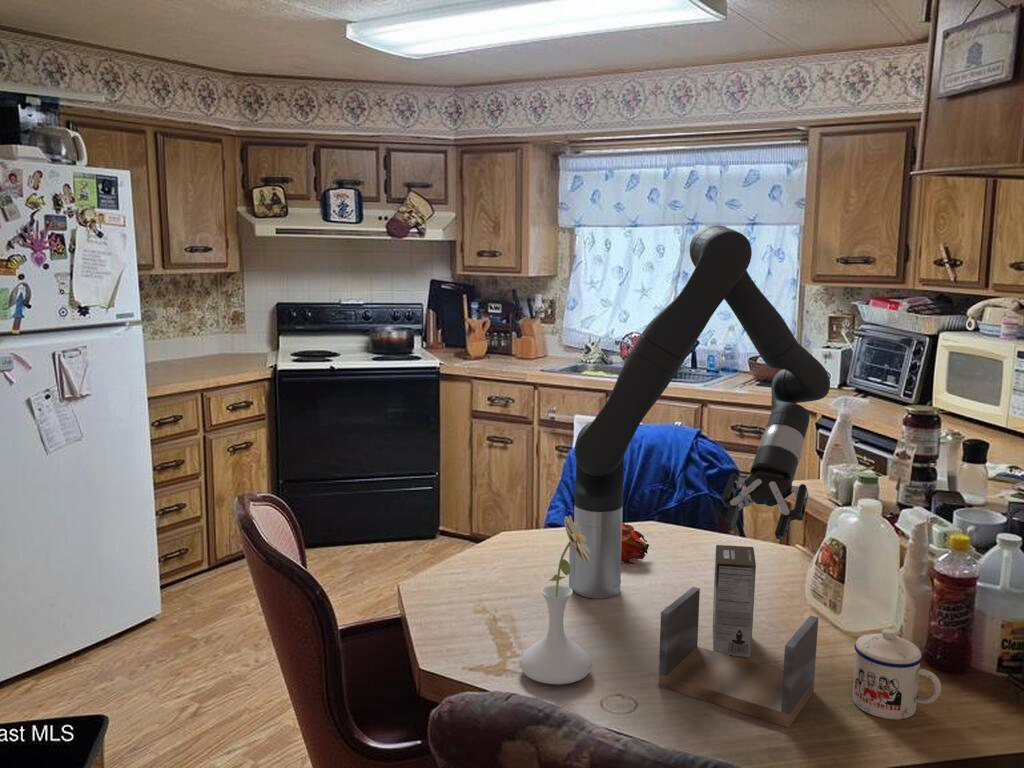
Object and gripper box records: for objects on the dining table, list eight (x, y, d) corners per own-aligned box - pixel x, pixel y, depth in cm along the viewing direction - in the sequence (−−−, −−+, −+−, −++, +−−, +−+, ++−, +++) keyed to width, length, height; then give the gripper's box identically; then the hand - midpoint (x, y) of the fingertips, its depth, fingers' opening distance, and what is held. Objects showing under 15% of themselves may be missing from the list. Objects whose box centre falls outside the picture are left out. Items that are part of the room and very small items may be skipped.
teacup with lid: (840, 705, 128) (846, 631, 126) (864, 683, 134) (869, 612, 132) (926, 737, 120) (933, 658, 118) (947, 711, 126) (954, 636, 124)
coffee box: (711, 630, 152) (715, 543, 150) (749, 634, 151) (753, 545, 148) (712, 654, 143) (716, 562, 141) (752, 658, 142) (757, 565, 139)
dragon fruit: (605, 556, 192) (644, 581, 183) (585, 542, 187) (623, 566, 177) (626, 524, 193) (665, 546, 184) (606, 508, 188) (645, 531, 179)
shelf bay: (658, 685, 133) (660, 612, 131) (690, 655, 143) (692, 586, 141) (788, 727, 122) (793, 647, 120) (813, 691, 132) (818, 617, 130)
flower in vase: (570, 699, 129) (573, 538, 125) (505, 679, 135) (506, 525, 131) (608, 664, 140) (612, 515, 136) (547, 646, 146) (548, 503, 142)
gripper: (735, 438, 160) (709, 514, 153) (814, 449, 152) (790, 529, 145) (744, 460, 165) (719, 535, 158) (821, 472, 157) (798, 550, 150)
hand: (753, 532), depth 151 cm, fingers open, 8 cm apart
